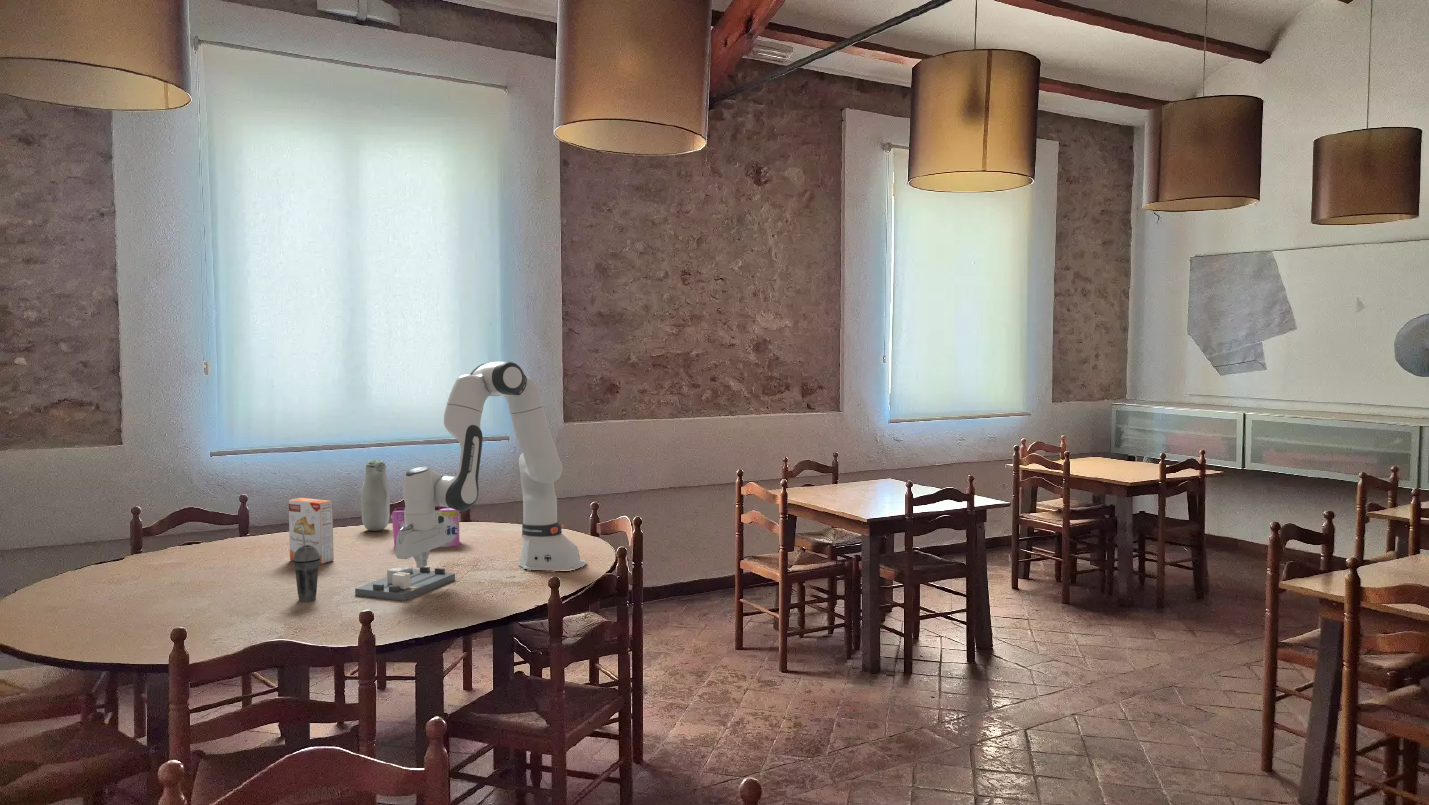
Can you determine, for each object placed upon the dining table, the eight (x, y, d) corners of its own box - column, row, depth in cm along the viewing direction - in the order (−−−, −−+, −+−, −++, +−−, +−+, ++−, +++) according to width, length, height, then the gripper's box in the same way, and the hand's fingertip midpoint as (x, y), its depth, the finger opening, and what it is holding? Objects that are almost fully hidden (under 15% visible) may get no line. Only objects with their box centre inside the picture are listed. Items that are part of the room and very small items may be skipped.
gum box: (389, 549, 325) (389, 511, 325) (392, 544, 333) (392, 507, 332) (458, 546, 331) (458, 509, 330) (460, 541, 338) (459, 505, 338)
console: (455, 579, 284) (454, 560, 284) (404, 601, 260) (403, 580, 260) (409, 575, 289) (408, 556, 289) (355, 595, 266) (354, 575, 265)
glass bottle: (357, 532, 352) (356, 461, 351) (371, 527, 363) (370, 457, 361) (381, 533, 351) (380, 461, 349) (394, 528, 361) (393, 458, 359)
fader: (410, 586, 267) (410, 572, 267) (404, 589, 264) (403, 575, 264) (399, 585, 268) (398, 571, 268) (392, 588, 265) (392, 574, 265)
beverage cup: (326, 597, 263) (325, 529, 262) (307, 603, 256) (306, 533, 255) (306, 594, 266) (305, 527, 264) (287, 601, 259) (286, 531, 258)
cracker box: (288, 561, 306) (287, 499, 305) (303, 557, 312) (301, 496, 310) (320, 565, 301) (319, 502, 299) (334, 561, 306) (333, 499, 305)
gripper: (407, 529, 262) (409, 576, 263) (448, 515, 281) (450, 559, 282) (389, 528, 264) (391, 575, 265) (431, 514, 283) (432, 558, 284)
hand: (421, 566), depth 274 cm, fingers closed
